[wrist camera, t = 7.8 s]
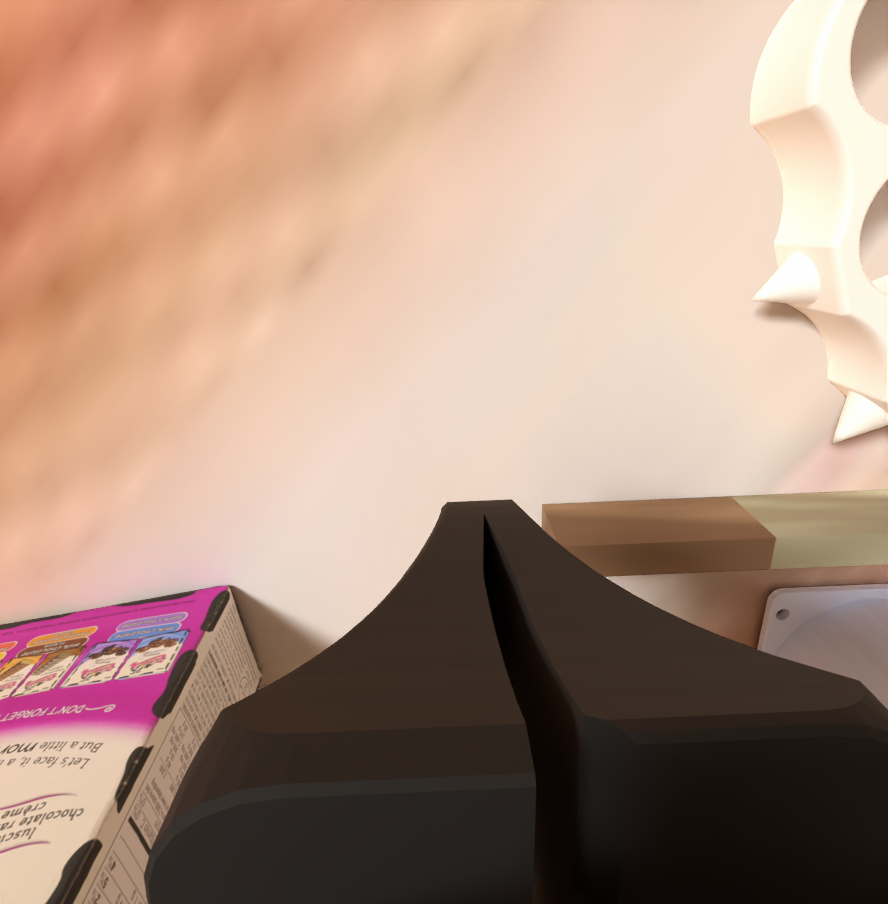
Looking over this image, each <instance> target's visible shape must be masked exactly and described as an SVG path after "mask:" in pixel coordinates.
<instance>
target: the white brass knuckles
mask: <svg viewBox="0 0 888 904" xmlns="http://www.w3.org/2000/svg"><path fill="white" fill-rule="evenodd" d="M867 1H868V0H795V1H794V2H793V3H792V4H791V6H790V7H789V8H788V9H787V11H786V12H785V13H784V15H783V16H782V18H781V19H780V21H779V22H778V24H777V25H776V27H775V29H774V30H773V32H772V34H771V36H770V38H769V40H768V42H767V44H766V46H765V48H764V51H763V53H762V56H761V58H760V61H759V64H758V67H757V70H756V74H755V78H754V82H753V87H752V94H751V104H750V123H751V126H752V127H753V128H754V129H755V130H756V131H757V132H758V133H759V134H760V135H761V136H762V137H763V138H764V139H765V141H766V142H767V143H768V145H769V146H770V148H771V150H772V152H773V154H774V156H775V158H776V160H777V163H778V166H779V169H780V173H781V177H782V183H783V211H782V217H781V222H780V226H779V230H778V233H777V236H776V239H775V241H774V249H775V254H776V259H777V264H778V270H777V271H776V272H775V273H774V275H773V276H772V277H771V278H770V279H769V280H768V281H767V282H766V284H765V285H764V286H763V287H762V288H761V289H760V290H759V291H758V293H757V294H756V295H755V296H754V297H753V298H752V299H751V301H760V302H783V303H786V304H787V305H790V306H792V307H794V308H796V309H797V310H799V311H800V312H802V313H803V314H804V315H806V316H807V317H808V318H809V319H810V320H811V321H812V322H813V324H814V325H815V326H816V328H817V329H818V331H819V332H820V334H821V336H822V338H823V341H824V344H825V347H826V351H827V357H828V375H827V380H828V381H829V382H830V383H831V384H833V385H834V386H835V387H836V388H837V389H838V390H839V391H840V392H841V393H843V394H844V395H845V396H846V397H847V398H846V401H845V404H844V407H843V410H842V413H841V416H840V420H839V423H838V426H837V429H836V432H835V435H834V438H833V441H832V444H833V443H836V442H839V441H842V440H845V439H848V438H851V437H854V436H857V435H860V434H863V433H866V432H869V431H872V430H875V429H878V428H881V427H884V426H887V425H888V275H887V276H884V277H882V278H879V279H876V280H874V281H870V280H869V278H868V277H867V275H866V273H865V271H864V268H863V265H862V262H861V256H860V236H861V230H862V226H863V223H864V219H865V217H866V214H867V212H868V209H869V207H870V205H871V203H872V201H873V200H874V198H875V196H876V195H877V193H878V192H879V190H880V189H881V188H882V186H883V185H884V184H885V183H886V182H887V180H888V126H887V125H885V124H883V123H881V122H879V121H877V120H876V119H874V118H873V117H872V116H871V115H870V114H869V113H868V112H867V111H866V110H865V109H864V107H863V106H862V104H861V103H860V101H859V99H858V97H857V95H856V92H855V89H854V86H853V82H852V76H851V48H852V42H853V37H854V33H855V30H856V26H857V23H858V21H859V18H860V16H861V13H862V11H863V9H864V7H865V5H866V3H867Z"/></svg>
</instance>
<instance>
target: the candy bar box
mask: <svg viewBox="0 0 888 904" xmlns="http://www.w3.org/2000/svg"><path fill="white" fill-rule="evenodd" d="M261 678H262V672H261V669H260V666H259V662H258V660H257V656H256V654H255V651H254V649H253V647H252V645H251V643H250V641H249V639H248V637H247V634H246V631H245V628H244V625H243V622H242V619H241V616H240V613H239V610H238V607H237V604H236V602H235V600H234V598H233V595H232V592H231V589H230V587H229V586H217V587H212V588H206V589H200V590H195V591H189V592H183V593H178V594H172V595H167V596H162V597H157V598H151V599H146V600H140V601H134V602H129V603H123V604H118V605H113V606H107V607H102V608H96V609H91V610H85V611H80V612H73V613H67V614H62V615H56V616H50V617H45V618H39V619H32V620H27V621H21V622H15V623H9V624H3V625H0V904H148V902H147V896H146V889H145V882H144V873H145V869H146V865H147V862H148V858H149V854H150V851H151V848H152V846H153V843H154V841H155V839H156V837H157V835H158V832H159V830H160V828H161V826H162V824H163V821H164V819H165V817H166V815H167V812H168V810H169V808H170V806H171V804H172V801H173V799H174V797H175V795H176V792H177V790H178V788H179V786H180V784H181V781H182V779H183V777H184V775H185V773H186V771H187V769H188V767H189V765H190V764H191V762H192V760H193V758H194V756H195V755H196V753H197V751H198V749H199V747H200V746H201V744H202V742H203V741H204V739H205V738H206V736H207V735H208V733H209V731H210V730H211V728H212V726H213V724H214V723H215V721H216V719H217V717H218V716H219V714H220V712H221V711H222V710H223V709H224V708H226V707H228V706H230V705H232V704H234V703H236V702H238V701H240V700H242V699H244V698H246V697H247V696H249V695H251V694H253V693H255V692H257V690H258V687H259V683H260V681H261Z"/></svg>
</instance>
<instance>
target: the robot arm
mask: <svg viewBox="0 0 888 904" xmlns="http://www.w3.org/2000/svg"><path fill="white" fill-rule="evenodd" d="M782 609H783V611H782V612H780V613H778V614H777V612H778V611H780V610H782ZM144 882H145V889H146V896H147V902H148V904H888V584H867V585H844V586H820V587H797V588H781V589H777V590H775V591H773V592H772V593H771V594H770V595H769V597H768V599H767V604H766V609H765V614H764V619H763V623H762V628H761V633H760V638H759V643H758V647H757V649H755V648H752V647H749V646H747V645H744V644H741V643H738V642H736V641H733V640H730V639H728V638H725V637H722V636H720V635H717V634H715V633H713V632H710V631H708V630H705V629H703V628H700V627H698V626H696V625H693V624H691V623H689V622H687V621H685V620H683V619H681V618H678V617H676V616H674V615H672V614H670V613H668V612H666V611H664V610H662V609H659V608H657V607H655V606H654V605H652V604H650V603H648V602H646V601H644V600H642V599H640V598H638V597H637V596H635V595H633V594H632V593H630V592H628V591H627V590H625V589H623V588H622V587H620V586H618V585H616V584H615V583H613V582H611V581H610V580H608V579H607V578H605V577H604V576H602V575H601V574H599V573H598V572H596V571H595V570H593V569H592V568H591V567H589V566H588V565H586V564H585V563H584V562H582V561H581V560H580V559H578V558H577V557H576V556H574V555H573V554H572V553H570V552H569V551H568V550H567V549H565V548H564V547H563V546H562V545H560V544H559V543H558V542H557V541H556V540H554V539H553V538H552V537H551V536H550V535H549V534H547V533H546V532H545V531H544V530H543V529H542V528H541V527H540V526H539V525H538V524H537V523H536V522H535V521H533V520H532V519H531V518H530V517H529V516H528V515H527V514H526V513H525V512H524V511H523V510H522V509H521V508H520V507H519V506H518V505H517V504H516V503H515V502H514V501H513V500H490V501H467V502H447V503H446V504H445V505H444V506H443V507H442V509H441V513H440V516H439V519H438V521H437V523H436V525H435V527H434V529H433V531H432V533H431V535H430V537H429V538H428V540H427V542H426V543H425V545H424V547H423V548H422V550H421V552H420V553H419V555H418V556H417V558H416V559H415V561H414V562H413V563H412V565H411V566H410V567H409V569H408V570H407V572H406V573H405V574H404V576H403V577H402V578H401V580H400V581H399V582H398V583H397V585H396V586H395V587H394V588H393V589H392V591H391V592H390V593H389V594H388V595H387V596H386V597H385V598H384V599H383V600H382V601H381V603H380V604H379V605H378V606H377V607H376V608H375V609H374V610H373V611H372V612H371V613H370V614H369V615H367V616H366V617H365V618H364V619H363V620H362V621H361V622H360V623H359V624H357V625H356V626H355V627H354V628H353V629H352V630H350V631H349V632H348V633H347V634H346V635H344V636H343V637H342V638H341V639H339V640H338V641H337V642H335V643H334V644H333V645H331V646H330V647H328V648H327V649H326V650H324V651H323V652H321V653H320V654H319V655H317V656H316V657H314V658H313V659H311V660H309V661H308V662H306V663H305V664H303V665H302V666H300V667H299V668H297V669H296V670H294V671H292V672H291V673H289V674H287V675H286V676H284V677H282V678H280V679H279V680H277V681H275V682H273V683H271V684H269V685H268V686H266V687H264V688H262V689H260V690H258V691H257V692H255V693H253V694H251V695H249V696H247V697H246V698H244V699H242V700H240V701H238V702H236V703H234V704H232V705H230V706H228V707H226V708H224V709H223V710H222V711H221V712H220V714H219V716H218V717H217V719H216V721H215V723H214V724H213V726H212V728H211V730H210V731H209V733H208V735H207V736H206V738H205V739H204V741H203V742H202V744H201V746H200V747H199V749H198V751H197V753H196V755H195V756H194V758H193V760H192V762H191V764H190V765H189V767H188V769H187V771H186V773H185V775H184V777H183V779H182V781H181V784H180V786H179V788H178V790H177V792H176V795H175V797H174V799H173V801H172V804H171V806H170V808H169V810H168V812H167V815H166V817H165V819H164V821H163V824H162V826H161V828H160V830H159V832H158V835H157V837H156V839H155V841H154V843H153V846H152V848H151V851H150V854H149V858H148V862H147V865H146V869H145V873H144Z"/></svg>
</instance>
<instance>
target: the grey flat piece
mask: <svg viewBox="0 0 888 904" xmlns="http://www.w3.org/2000/svg"><path fill="white" fill-rule="evenodd" d="M542 529H543V530H544V531H545V532H546V533H547V534H549V535H550V536H551V537H552V538H553V539H554V540H556V541H557V542H558V543H559V544H560V545H562V546H563V547H564V548H565V549H567V550H568V551H569V552H570V553H572V554H573V555H574V556H576V557H577V558H578V559H580V560H581V561H582V562H584V563H585V564H586V565H588V566H589V567H591V568H592V569H593V570H595V571H596V572H598V573H599V574H601V575H602V576H604V577H605V576H628V575H652V574H675V573H698V572H721V571H744V570H768V569H791V568H814V567H837V566H860V565H883V564H888V490H871V491H847V492H824V493H800V494H777V495H753V496H730V497H706V498H683V499H659V500H636V501H612V502H589V503H565V504H542Z"/></svg>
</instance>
